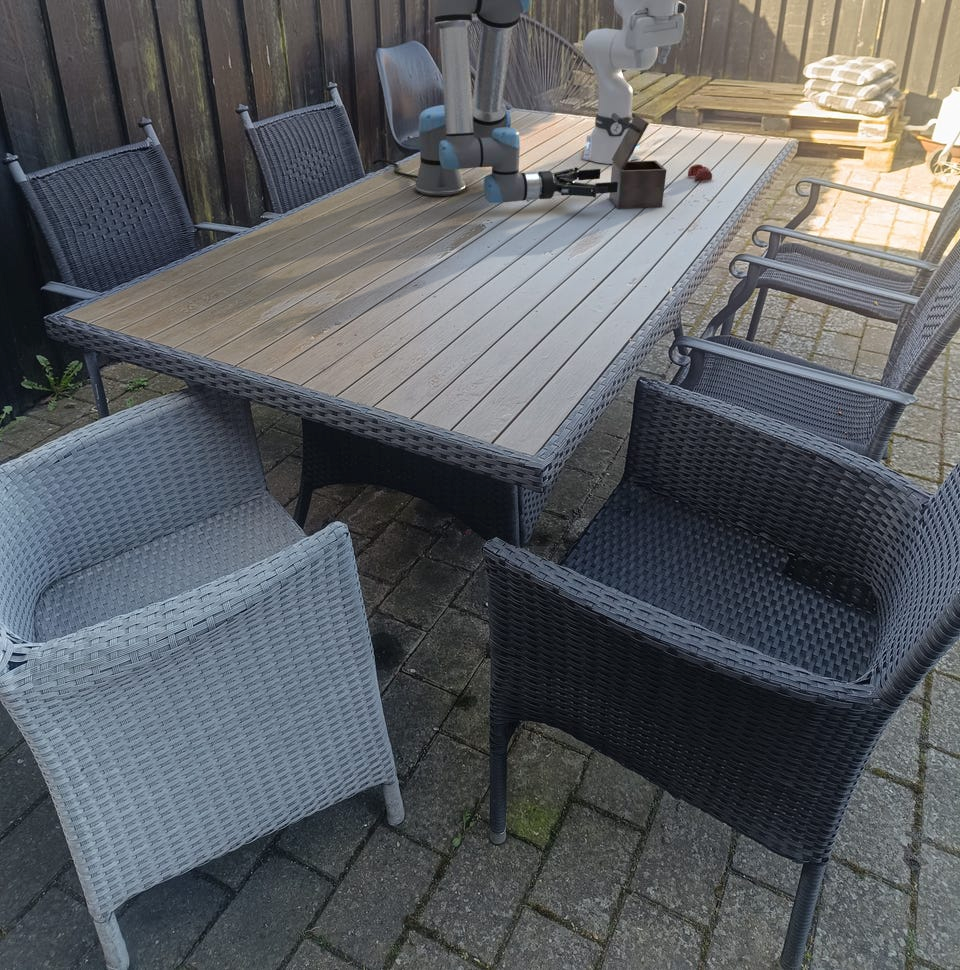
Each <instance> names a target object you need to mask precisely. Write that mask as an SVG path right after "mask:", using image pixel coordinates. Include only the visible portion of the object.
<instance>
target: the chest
mask: <svg viewBox="0 0 960 970" xmlns="http://www.w3.org/2000/svg"><path fill="white" fill-rule="evenodd" d="M610 174H611V175H610V182H618V188H617V192H613V193H609V200H610V201H611V202H612V203H613V204H614V206H615V207H616V208H617V209H620V210H621V209H640V208H641V209H642V208H643V209H644V208H645V209H646V208H662V207H663V203H664V202H663V201H664V192H665V185H666V177H667V168H666V167H664V166H663V165H662V164H661V163H660V162H659V161H657V160H631V161H628V162H627V164H626V166H625V167H624V169H623V170H621V169H620V168H619V167H618V166H617V165H616V164H615V163H614V162H612V164H611V173H610Z"/></svg>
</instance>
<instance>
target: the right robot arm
mask: <svg viewBox="0 0 960 970" xmlns="http://www.w3.org/2000/svg"><path fill="white" fill-rule="evenodd" d="M613 7H614V10H615V12H616V13H617V14H618V15H619V16H620V17H621V19H622V27H621V29H615V28H607V27H604V28H597V29H593V30H590V31H589V32H588V33H587V35H586V37H585V38H584V41H583V44H582V52H583V56H584V59H585V61H586V62H587V63H588V64H589V65H590V67H591V69H592V70H593V73H594V76H595V79H596V83H597V88H598V95H597V96H598V99H597V100H598V101H597V113H596V114H595V119H594V120H595V121H594V125H595V126H594V128H593V130H592V132H591V133H590V135H589V134H588V135H586V144H587V145H586V146H584V152H583V155H582V160H585V161H591V162H595V163H599V164H604V165H605V164H607V165H612V162H613V161H612V158H613V156H614V154H615V152H616V151H617V149H618V147H619V145H620V143H621V142H622V140H623V138H624V136H625V134H626V132H627V131H628V129H629V127H627V126H625V125H623V124H618V123H617V122H616V121H615V120H614V119H612V117H611V116H612V114H613V113H616V114H617V115H618V116H620V117H621V118H622V119H623V120H625V121H627V122H629V123H632V122H633V120H634V118H635V116H636V113H632V108H633V100H634V99H633V97H634V90H633V87H632V86H631V84H630V83H629V82H628V81H627V80H626V79H625V77H624V75H623V72H622V70H623V71H631V72H639V71H647V70H649V69H651V68H652V67H653V65H654V64H655V62H656V60H657V59H658V61H657V64H659V65H665V64H667V62H668V61H667V60H668V56H669V54H670V52H671V49H672V45H677V44H680V43H681V41H682V39H683V35H684V27H685V15H684V14H685V13H686V12H687V4H686V3H684V2H682V1H680V0H613ZM659 47H661V49H662V50H661V53H660V55H659V56H658V54H659ZM639 148H640V146H639V145H637V146H636V148H635V150H637V149H639ZM635 150H634V151H633V153H632V155H631V157H630V158H629V160H628V161H636V160H638V159H639V155H638V154H637V153H635Z"/></svg>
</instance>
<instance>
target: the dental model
mask: <svg viewBox="0 0 960 970" xmlns="http://www.w3.org/2000/svg"><path fill="white" fill-rule="evenodd" d="M687 177H688V178H691V177H694V178H693V180H694V182H705V181H706V182H707V181H712V179H713V173H712V172H711V170H710V168H709V167H707V166H703V164H698V163H697V164H693V165H691V166H690V167H689V169H688V171H687Z"/></svg>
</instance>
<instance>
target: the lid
mask: <svg viewBox="0 0 960 970" xmlns="http://www.w3.org/2000/svg"><path fill="white" fill-rule="evenodd" d="M611 117H612V119H614V120H615V121H616V122H617V123H618V124H623V125H625V126H627V127H629V129H628V131H627V132H626V134H625V136H624V138H623V140H622V142H621V143H620V145H619V147H618V149H617V151H616V152H615V154H614V156H613V158H612V161H613V162H614V163H615V164H616V165H617V166H618V167H619V168H620V169H621V170H623V169H624V167H625V166H626V164H627V162H628V160H629V158H630V157H631V155H632V153H633V151H634V152H635V150H636V149H635V148H636V146H638V144H639V143H640V140H641V139H642V137H643V135H644V133H645V132H646V130H647V128H648V126H649V125H650V123H649V122H648V121H646V120H645V119H644V118H643V117H642V116H640V115H639V114H637V113H635V118H634V120H633V122H632V123H629V122H627V121H625V120H623V119H622V118H621V117H620V116H618V115H617V114H616V113H613V114H612V116H611Z"/></svg>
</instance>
